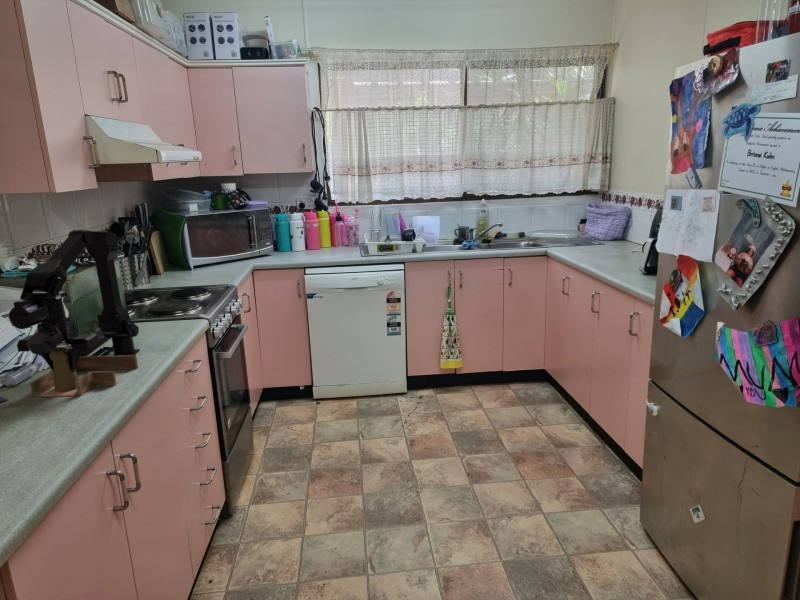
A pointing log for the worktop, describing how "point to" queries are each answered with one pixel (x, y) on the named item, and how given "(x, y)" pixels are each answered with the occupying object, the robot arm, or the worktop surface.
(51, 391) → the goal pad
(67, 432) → the worktop surface
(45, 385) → the bent channel
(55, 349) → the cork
